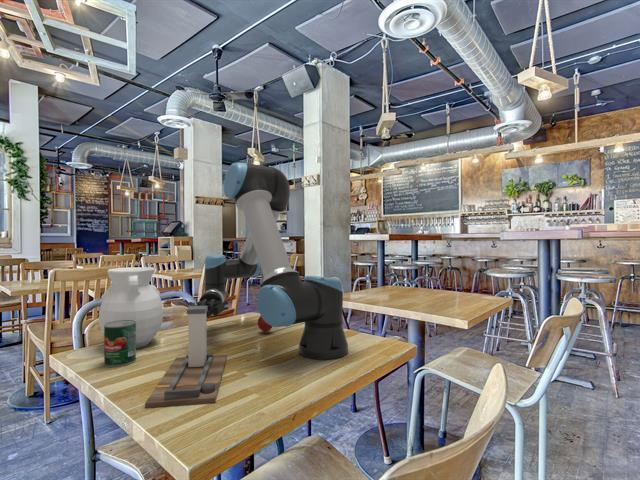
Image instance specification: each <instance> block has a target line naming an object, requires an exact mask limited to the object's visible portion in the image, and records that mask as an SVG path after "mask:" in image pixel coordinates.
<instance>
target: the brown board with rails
mask: <svg viewBox="0 0 640 480" xmlns="http://www.w3.org/2000/svg"><path fill="white" fill-rule="evenodd" d="M227 360H228V354H222V355H221V354H219V355H218V354H217V355H214V353H207V361H206V364H205V366H202V367H188V354H187V355H186V356H180V357H175V359H174V360H173V361H172V363H171V364H170V366H169V367H168V369H167V370H166V371H165V373H164V374H163V376H162V377H161V379H160V380H159V381H158V383H157V385H156V387H155V388H154V390H152V392H151V394H150V395H149V397H148V398H147V399H146V401H145V402H144V408H145V409H149V408H159V407H174V406H187V405H188V406H189V405H199V404H200V405H201V404H202V405H203V404H214V403H216V402H217V401H216V400H217V397H218V394H219V389H220V386H221V382H222V378H223V375H224V371H225V366H226V363H227Z"/></svg>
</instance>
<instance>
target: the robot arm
mask: <svg viewBox="0 0 640 480" xmlns="http://www.w3.org/2000/svg"><path fill="white" fill-rule="evenodd" d="M223 180H224V181H223V193H224V196H225V197H226V198H228V199H229V200H233V201H234V203H235V206H236V208H237V209H238V210H240V211H242V212H243V215H244V219H245V222H246V225H247V229H248V231H249V233H248V235H247V237H246V240H245V241H244V244H243V247H242V249H241V251H240V254H239V256H238V258H235V259H230V258H229V259H226V255H224V254H208V255H206V257H205V259H204V293H203V294H202V296H200V298H199V301H196V302H193V301H189V302H188V308H189V307H190V306H208V310H207V312H206V318H209V317H211V316H212V315H213V316H215V317H216V316H218V315H220V314H221V313H222V312H224V311H226V310H229V301H226V298H227V291H226V280H231V279H233V280H234V279H242V278H243V279H244V278H245V279H247V278H252V277H257V276H259V274H260V273H261V274H262V276H263V278H262V281H261V283H260V284H259V285H260V289H259V290H258V291H257V293H256V294H257V295H256V298H257V300H256V306H257V309H258V313H259V315H260V316H261V317H262V318H263V320H264V321H265V322H266V323H267V324H269V325H271V326H273V327H274V328H281V327H287V328H288V327H291V326H293V325H297V324H302V323H304V329H303V331H302V334H301V337H300V340H299V343H298V353H299V354H300V355H301V356H303V357H304V358H305V357H306V358H307V359H314V360H333V359H340V358H342V356H343V357H345V356H347V354H349V344H348V340H347V337H346V334H345V330H344V328H343V310H344V309H343V306H344V305H343V304H344V303H343V300H344V299H343V298H344V297H343V294H344V291H343V282H342V281H341V279H340V278H336V277H328V276H317V275H315V276H314V275H306V276H305V277H304V278H303V281H302V279H301V275H300V273H299V271H297V270H295V269H293V268H292V264H291V262H290V260H289V257H288V253H287V251H286V247H285V244H284V242H283V240H282V236H281V233H280V230H279V228H278V224H277V221H278V219H279V217H280V215H281V213H284V212H285V210H286V209H287V207H288V204H289V202H290V197H291V196H290V195H291V188H290V184H289V180H288V178H287V176H286V175H285V174H284V172H282V171H281V170H280V169H278V168H277V167H273V166H265V165H259V164H254V163H247V162H240V161H239V162H233V163H232V164H231V165H230V166H229V167H228V168H227V171H226V173H225V175H224V179H223ZM273 327H272V328H273ZM344 355H345V356H344ZM339 357H340V358H339Z"/></svg>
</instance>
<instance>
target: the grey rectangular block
mask: <svg viewBox="0 0 640 480" xmlns="http://www.w3.org/2000/svg"><path fill="white" fill-rule="evenodd" d="M207 310H208V306H190V307H189V306H188V308H187V309H186V315H187V316H188V317H187V319H188V320H187V322H188V323H187V324H188V325H187V327H188V328H187V329H188V330H187V331H188V332H187V337H188V338H187V339H188V340H187V343H188V349H187V351H188V353H187V355H188V367H202V366H205V364H206V361H207V354H208V353H207V317H206V312H207Z"/></svg>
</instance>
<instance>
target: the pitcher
mask: <svg viewBox="0 0 640 480" xmlns="http://www.w3.org/2000/svg"><path fill="white" fill-rule="evenodd" d="M154 270H155V268H154V267H153V266H151V267H150V266H141V267H140V266H139V267H138V266H136V267H135V266H133V267H131V266H129V267H115V268H109V269H108V270H106V272H107V276H108V277H109V279H110V281H111V284H112V285H110V286H109V287H108V289H105V291H104V294H103V295H101V298H100V300H101V304H100V308H99V315H98V325H99V328H100V331H101V334H102V335H103V336H104V325H105V324H106V323H109V322H113V321H120V320H134V321H136V349H138V348H139V349H140V348H143V347H145V346H147V345H148V344H149V343H150V342H151V341H152V340H153V339H154V338H155V337H156V336H157V333H159V331H160V329H161V326H162V323H163V317H164V309H163V302H162V299H161V296H160V295H161V292H160V290H158V288H157V287H156V286H155V285H154V284H150V281H151V280H152V277H153V274H154ZM142 346H143V347H142Z"/></svg>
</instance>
